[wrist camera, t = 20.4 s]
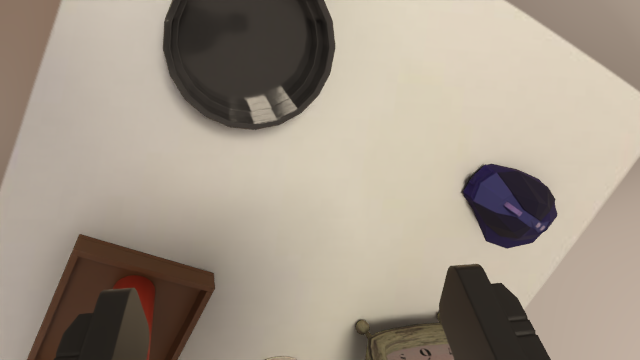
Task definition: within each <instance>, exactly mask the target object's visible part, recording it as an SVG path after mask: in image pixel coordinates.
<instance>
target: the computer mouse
mask: <svg viewBox="0 0 640 360" xmlns="http://www.w3.org/2000/svg"><path fill="white" fill-rule="evenodd" d="M463 193H464V194H463V195H464V197H465V198H466V200H467V201H468V203H469V204H470V206H471V207H472V209H473V211H474V213H475V216H476V218H477V220H478V223H479V225H480V228H481V230H482V232H483V235H484V237H485V239H486V241H487V242H490V243H493V244H496V245H499V246H502V247H504V248H511V247H515V246H520V245H525V244H529V243H533V242H534V241H535V240H536V239H537V238H538V237H539V236H540V235H541V234H542V233H543V232H545V231H546V230H547V229H548V228H549V226H550V225H551V224H552V222H553V221H554V219H555V218H556V217H557V211H556V208H555V198H554V196H553V195H552V193H551V192H550V190H549V188H548V187H547V186H545V185H544V184H543V183H542V182H541V181H540V180H539V179H537V178H535V177H533V176H531V175H528V174H526V173H524V172H522V171H519V170H517V169H513V168H508V167H503V166H499V165H494V164H489V165H486V164H485V165H484V166H483V167H482V168H481V169H480V170H479V171H478V172H477V173H475V174H474V175H473V176H472V178H471V179H470V181H469V183H468V184H467V186H466V188H465V189H464V191H463Z"/></svg>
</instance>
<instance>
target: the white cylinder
mask: <svg viewBox="0 0 640 360" xmlns="http://www.w3.org/2000/svg"><path fill="white" fill-rule="evenodd" d="M266 360H297V359H294V358H291V357H284V356H280V357H273V358H269V359H266Z"/></svg>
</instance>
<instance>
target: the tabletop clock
mask: <svg viewBox="0 0 640 360" xmlns="http://www.w3.org/2000/svg"><path fill="white" fill-rule="evenodd" d="M437 317H438V320H439V322H440V323H431V324H417V325H410V326H405V327H400V328H394V329H389V330H384V331H381V332H378V333H376V334H374V335H371V333H370V332H369V328H370V327H369V324H368V323H367V322H366V321H365V320H360V321H359V322H357V324H356V330H357V332H358V333H359V334H363V335H364V334H365V335H366V336H367V338H368V344H367V351H366V358H365V360H454V357H453V355H452V352H451V349H450V346H449V344H448V341H447V338H446V335H445V333H444V330H443V327H442V324H441V320H440V313H439V314H438V316H437Z"/></svg>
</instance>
